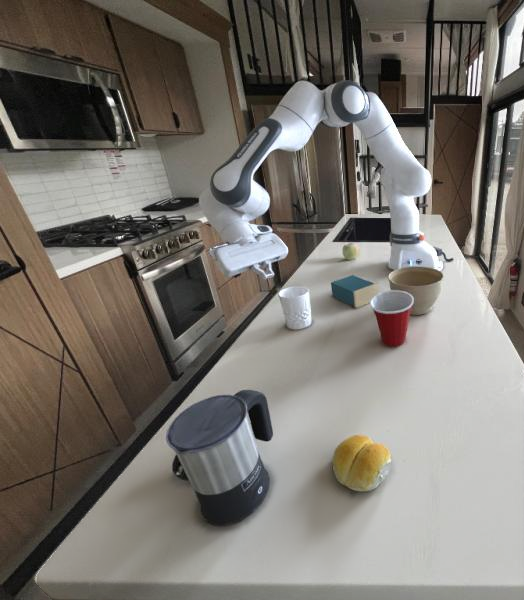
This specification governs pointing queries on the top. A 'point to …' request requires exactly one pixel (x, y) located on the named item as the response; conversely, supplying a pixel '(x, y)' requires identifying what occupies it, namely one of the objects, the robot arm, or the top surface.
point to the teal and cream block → (354, 290)
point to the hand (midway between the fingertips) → (269, 277)
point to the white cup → (296, 306)
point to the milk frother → (223, 454)
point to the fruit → (350, 251)
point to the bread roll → (361, 463)
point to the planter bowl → (418, 286)
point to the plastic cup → (392, 315)
